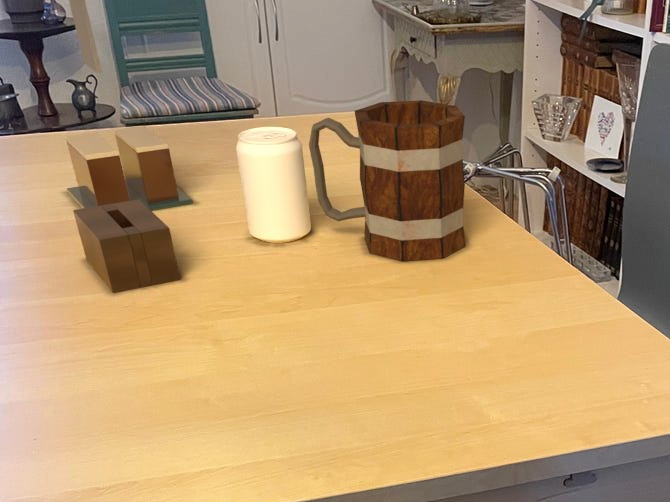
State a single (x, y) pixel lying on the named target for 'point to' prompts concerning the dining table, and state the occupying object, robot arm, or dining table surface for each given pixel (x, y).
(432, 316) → the dining table surface
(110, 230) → the knife block
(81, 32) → the knife
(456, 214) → the mug
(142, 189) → the twin slanted wooden posts
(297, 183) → the beverage can
